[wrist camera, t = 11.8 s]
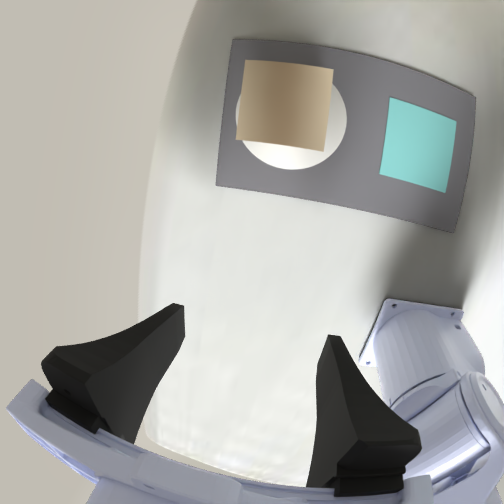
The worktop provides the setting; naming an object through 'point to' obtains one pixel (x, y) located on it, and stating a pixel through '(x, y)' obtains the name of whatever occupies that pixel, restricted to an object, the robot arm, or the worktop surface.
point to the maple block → (285, 104)
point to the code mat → (359, 138)
